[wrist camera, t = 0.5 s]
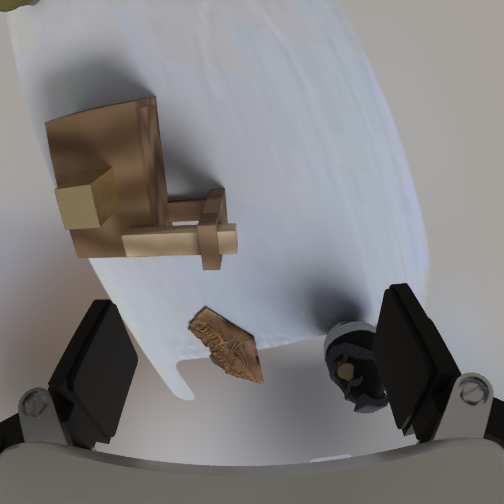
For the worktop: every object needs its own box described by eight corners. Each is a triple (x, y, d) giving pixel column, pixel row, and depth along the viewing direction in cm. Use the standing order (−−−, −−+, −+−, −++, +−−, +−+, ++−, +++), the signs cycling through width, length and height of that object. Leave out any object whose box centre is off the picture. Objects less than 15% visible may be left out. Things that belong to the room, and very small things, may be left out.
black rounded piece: (342, 297, 54) (370, 390, 37) (383, 316, 57) (416, 400, 40) (308, 335, 59) (322, 426, 42) (349, 350, 62) (370, 432, 45)
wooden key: (126, 228, 38) (121, 235, 36) (236, 223, 37) (235, 231, 36) (131, 248, 39) (126, 256, 38) (237, 245, 39) (236, 253, 37)
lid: (52, 120, 32) (16, 132, 25) (139, 100, 32) (112, 107, 25) (83, 252, 42) (59, 282, 36) (162, 249, 42) (146, 283, 35)
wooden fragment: (178, 313, 57) (177, 317, 56) (232, 297, 55) (231, 300, 54) (235, 387, 69) (235, 391, 68) (280, 377, 67) (280, 381, 66)
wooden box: (75, 112, 38) (28, 128, 27) (218, 89, 37) (204, 93, 27) (99, 231, 48) (67, 272, 38) (227, 225, 47) (220, 270, 37)
